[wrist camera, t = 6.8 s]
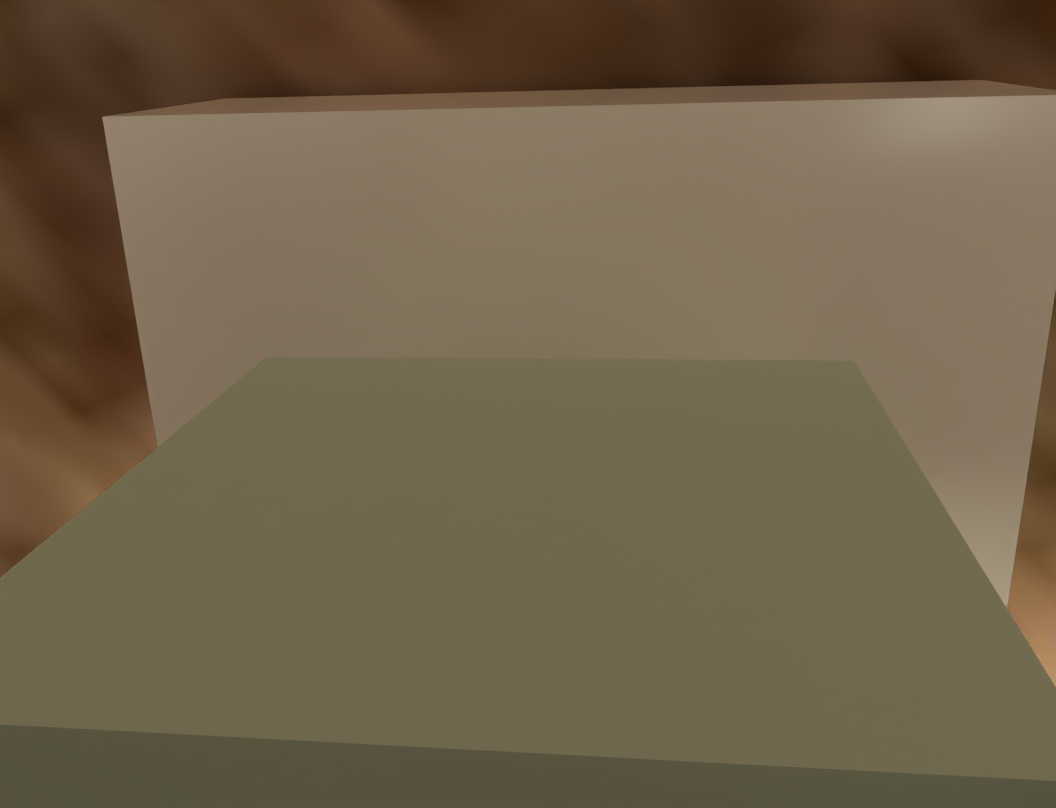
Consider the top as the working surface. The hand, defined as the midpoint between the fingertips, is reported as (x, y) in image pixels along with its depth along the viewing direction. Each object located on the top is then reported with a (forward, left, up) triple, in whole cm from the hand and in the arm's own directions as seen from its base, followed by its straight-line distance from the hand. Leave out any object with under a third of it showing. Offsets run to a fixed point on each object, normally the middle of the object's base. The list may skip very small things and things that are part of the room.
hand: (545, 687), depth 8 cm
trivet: (0, 0, -6) cm, 6 cm away
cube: (0, 0, -1) cm, 1 cm away
